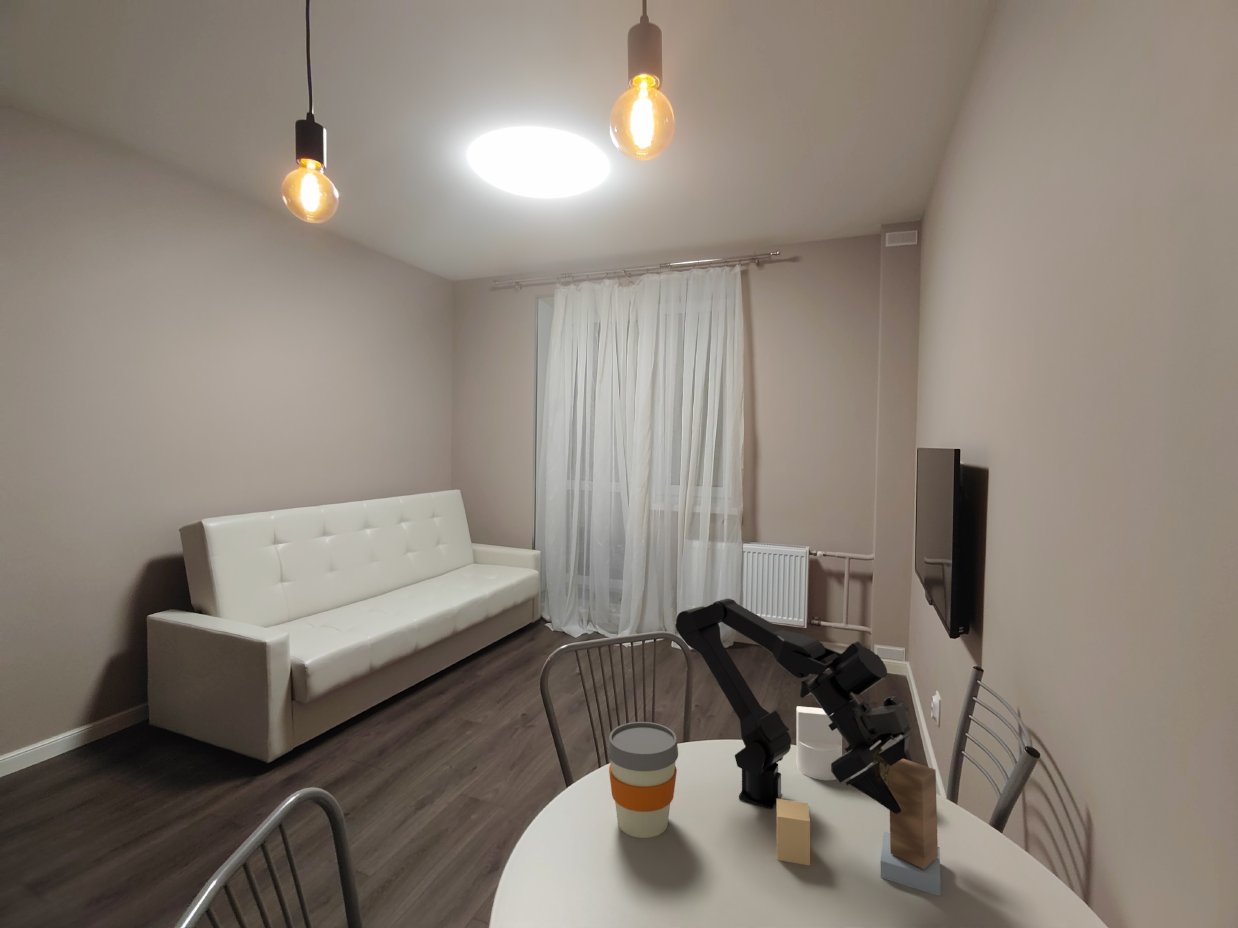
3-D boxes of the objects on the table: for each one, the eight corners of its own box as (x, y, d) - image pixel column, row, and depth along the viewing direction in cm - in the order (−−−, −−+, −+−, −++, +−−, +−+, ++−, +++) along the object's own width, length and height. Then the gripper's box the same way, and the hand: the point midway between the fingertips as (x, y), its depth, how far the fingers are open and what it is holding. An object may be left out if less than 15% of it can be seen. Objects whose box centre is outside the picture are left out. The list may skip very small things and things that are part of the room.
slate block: (880, 879, 87) (880, 860, 87) (884, 849, 94) (884, 831, 94) (940, 899, 83) (940, 878, 83) (939, 865, 90) (939, 846, 90)
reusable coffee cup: (593, 819, 101) (593, 735, 101) (644, 792, 110) (644, 714, 110) (641, 855, 92) (641, 762, 92) (693, 823, 100) (693, 738, 100)
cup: (912, 809, 104) (912, 765, 104) (869, 804, 106) (869, 761, 106) (901, 787, 111) (901, 746, 112) (861, 782, 113) (861, 742, 113)
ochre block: (777, 859, 91) (777, 816, 91) (776, 839, 96) (776, 798, 96) (810, 865, 90) (809, 820, 90) (807, 844, 95) (807, 802, 95)
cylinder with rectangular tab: (798, 777, 115) (798, 718, 115) (794, 755, 124) (794, 700, 124) (845, 782, 113) (845, 722, 113) (838, 759, 122) (838, 704, 122)
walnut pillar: (890, 853, 88) (888, 767, 89) (904, 841, 92) (902, 758, 92) (924, 869, 85) (922, 779, 85) (937, 856, 88) (935, 769, 89)
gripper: (851, 700, 86) (929, 804, 78) (898, 669, 99) (969, 756, 91) (802, 733, 92) (871, 834, 84) (853, 700, 105) (916, 785, 97)
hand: (910, 800), depth 89 cm, fingers open, 9 cm apart
